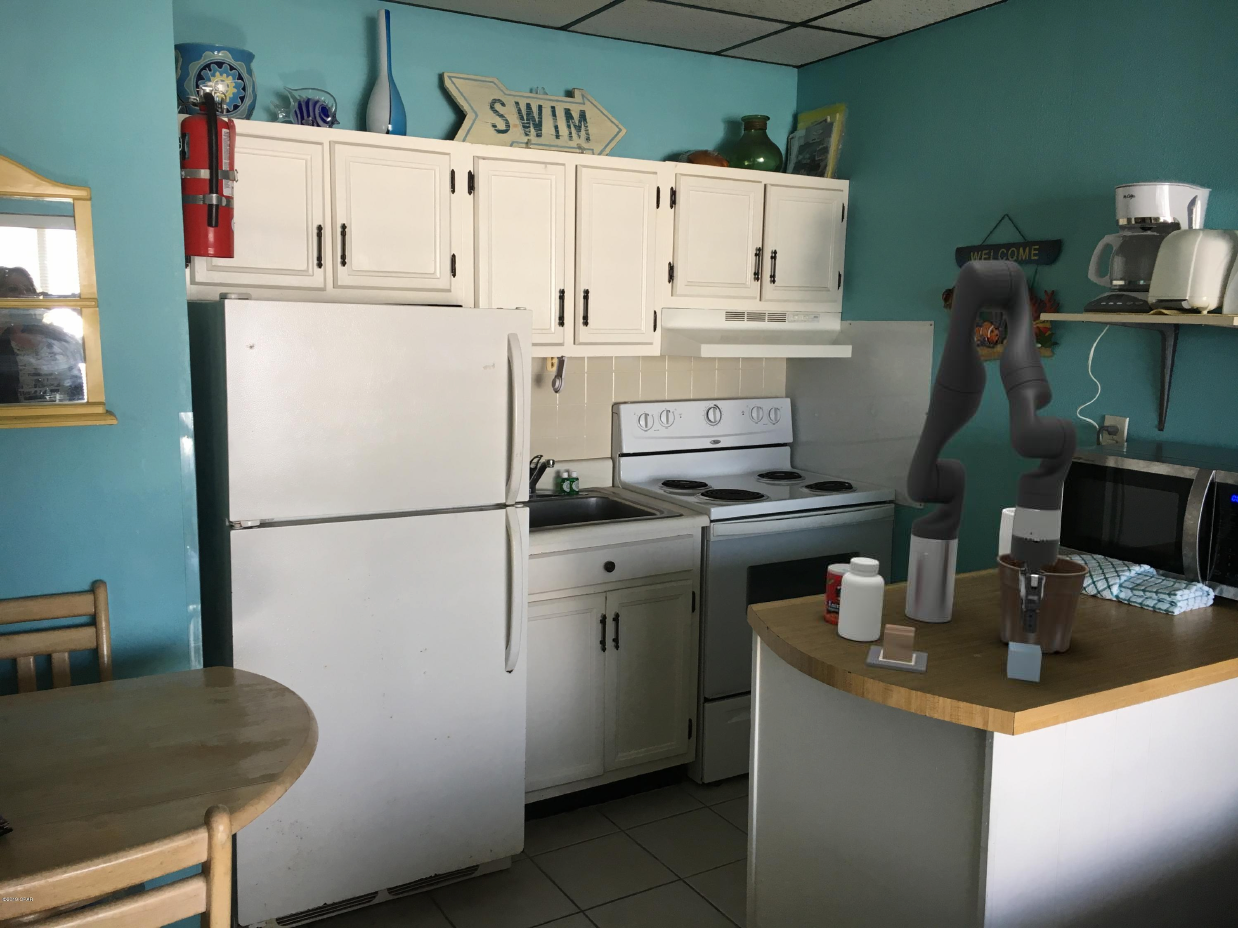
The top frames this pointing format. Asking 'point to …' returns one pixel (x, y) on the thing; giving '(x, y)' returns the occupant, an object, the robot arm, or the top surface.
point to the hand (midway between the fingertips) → (1027, 625)
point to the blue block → (1024, 661)
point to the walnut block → (898, 643)
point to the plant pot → (1042, 603)
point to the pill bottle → (861, 601)
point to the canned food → (834, 591)
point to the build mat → (916, 665)
